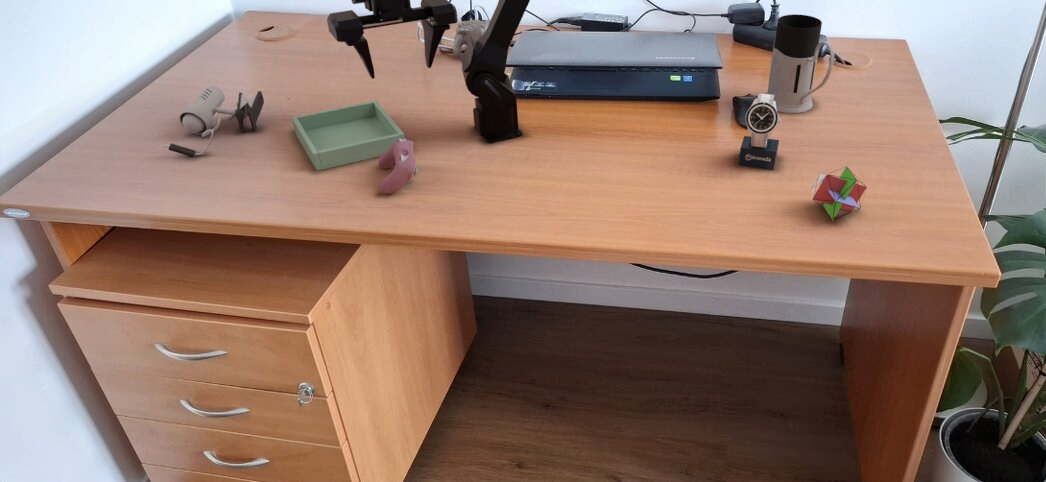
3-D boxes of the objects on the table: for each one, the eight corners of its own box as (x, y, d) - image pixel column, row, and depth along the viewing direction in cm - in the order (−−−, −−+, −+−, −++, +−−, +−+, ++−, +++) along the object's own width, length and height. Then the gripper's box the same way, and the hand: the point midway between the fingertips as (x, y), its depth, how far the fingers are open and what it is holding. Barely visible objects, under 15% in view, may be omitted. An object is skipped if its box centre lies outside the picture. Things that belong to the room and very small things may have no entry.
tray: (379, 115, 145) (376, 100, 143) (406, 150, 134) (404, 134, 132) (295, 132, 139) (291, 117, 137) (316, 170, 128) (313, 154, 126)
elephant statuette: (462, 46, 173) (458, 10, 169) (517, 49, 172) (515, 12, 168) (450, 62, 166) (446, 25, 161) (508, 65, 164) (506, 27, 160)
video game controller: (407, 203, 123) (423, 163, 120) (377, 194, 121) (393, 153, 118) (404, 172, 131) (419, 134, 128) (375, 164, 129) (390, 125, 126)
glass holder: (793, 90, 154) (804, 10, 145) (842, 119, 143) (857, 35, 135) (754, 98, 151) (763, 17, 142) (801, 128, 140) (814, 43, 132)
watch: (736, 171, 128) (744, 105, 121) (743, 148, 134) (751, 84, 128) (772, 175, 127) (782, 109, 120) (778, 152, 133) (787, 88, 127)
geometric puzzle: (864, 185, 120) (840, 147, 115) (883, 209, 114) (858, 170, 110) (822, 213, 122) (796, 177, 117) (838, 238, 116) (812, 201, 112)
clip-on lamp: (229, 175, 133) (272, 108, 145) (218, 145, 128) (264, 78, 140) (159, 165, 133) (208, 99, 145) (145, 135, 128) (197, 69, 140)
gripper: (428, -50, 130) (439, 47, 139) (309, -34, 122) (329, 66, 132) (453, -33, 122) (463, 68, 131) (327, -16, 115) (347, 90, 124)
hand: (401, 72), depth 129 cm, fingers open, 9 cm apart
